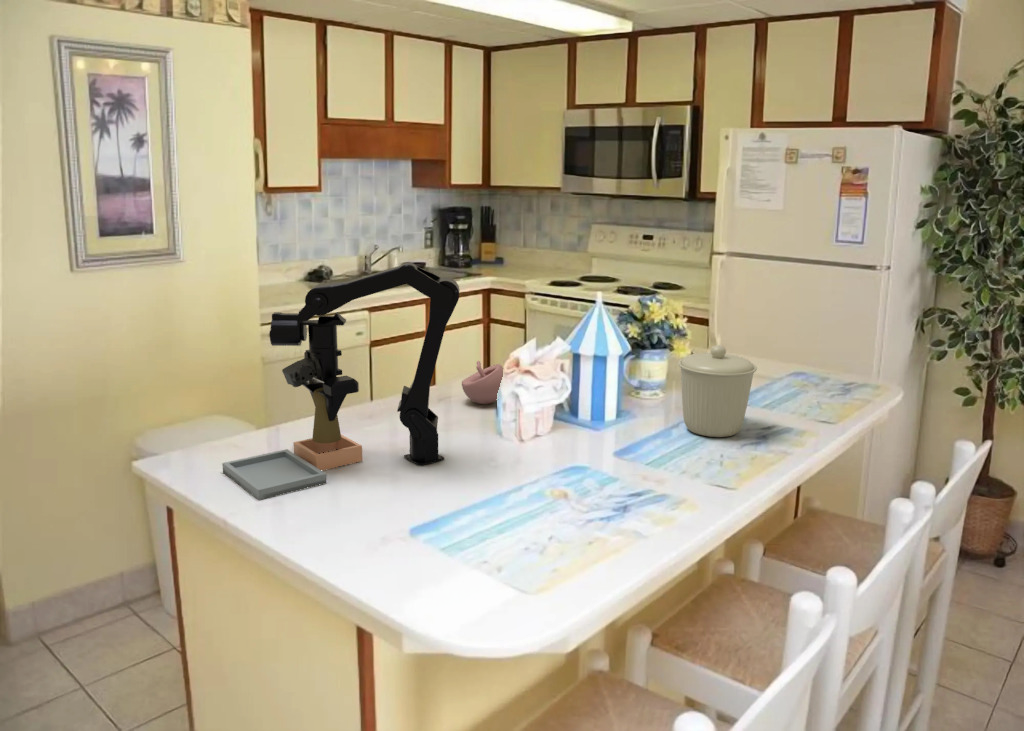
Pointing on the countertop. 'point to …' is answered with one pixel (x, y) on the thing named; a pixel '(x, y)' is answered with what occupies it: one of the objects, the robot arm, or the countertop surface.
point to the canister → (715, 391)
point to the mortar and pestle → (483, 384)
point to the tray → (273, 473)
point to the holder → (342, 456)
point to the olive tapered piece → (324, 422)
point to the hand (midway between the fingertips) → (326, 417)
